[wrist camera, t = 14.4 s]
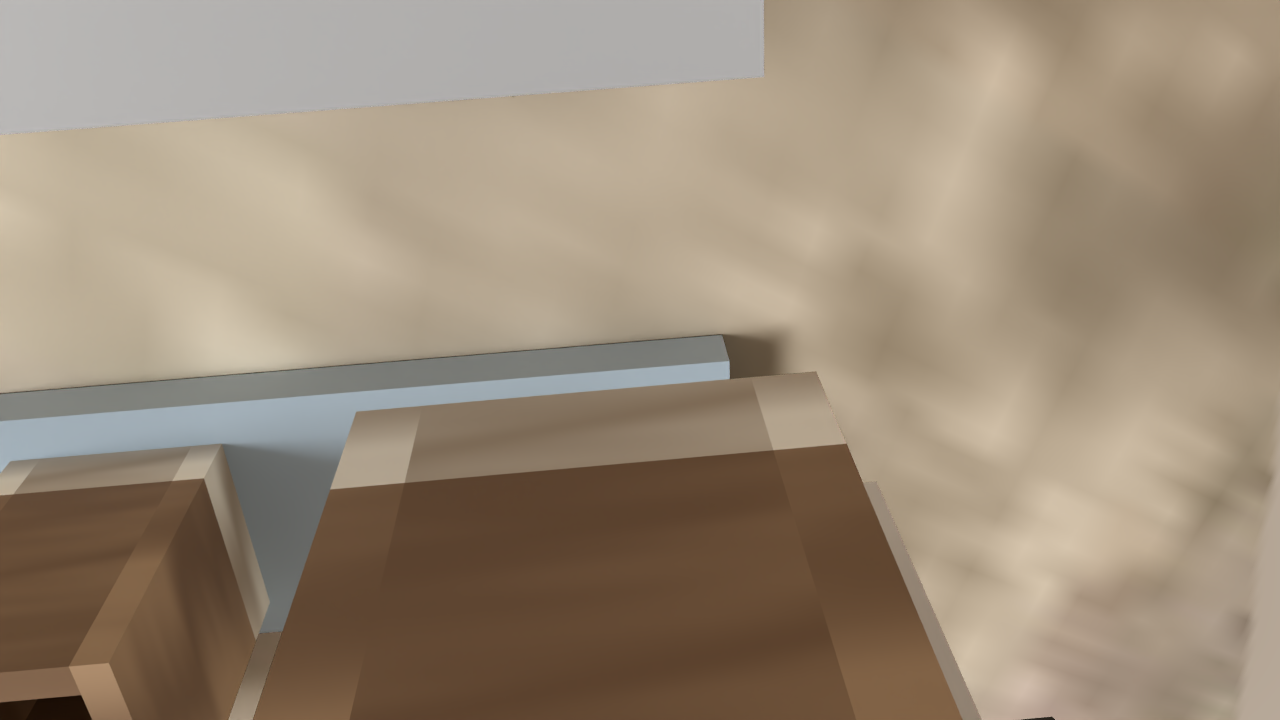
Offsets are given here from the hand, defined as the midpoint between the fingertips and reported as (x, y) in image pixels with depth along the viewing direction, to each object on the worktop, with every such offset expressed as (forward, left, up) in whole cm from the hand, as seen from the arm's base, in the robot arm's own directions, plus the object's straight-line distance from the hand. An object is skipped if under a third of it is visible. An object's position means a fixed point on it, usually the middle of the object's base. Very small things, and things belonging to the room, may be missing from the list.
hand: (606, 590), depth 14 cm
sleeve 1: (+8, -13, -14) cm, 21 cm away
